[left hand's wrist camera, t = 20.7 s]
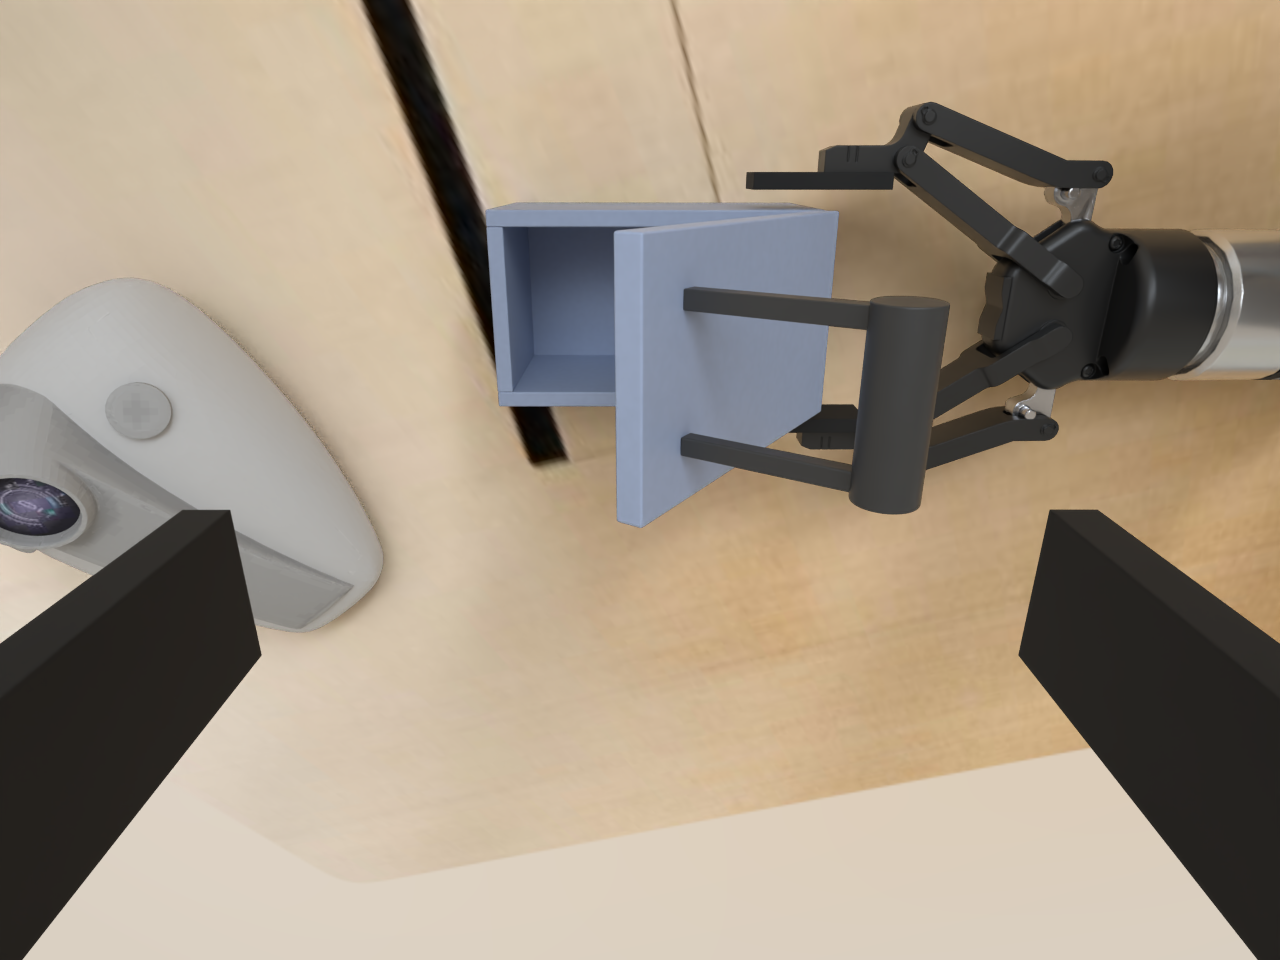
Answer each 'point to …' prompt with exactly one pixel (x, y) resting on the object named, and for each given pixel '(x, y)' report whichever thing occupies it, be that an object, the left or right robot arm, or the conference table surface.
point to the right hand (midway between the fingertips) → (743, 306)
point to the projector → (172, 451)
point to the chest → (570, 292)
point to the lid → (759, 363)
